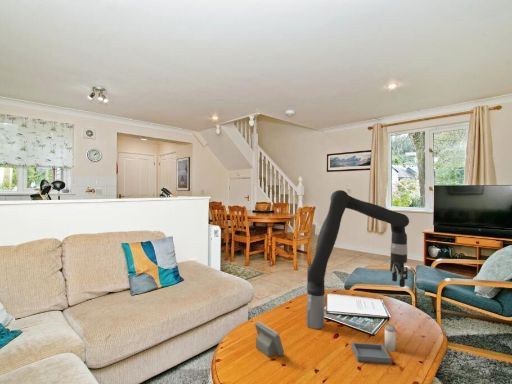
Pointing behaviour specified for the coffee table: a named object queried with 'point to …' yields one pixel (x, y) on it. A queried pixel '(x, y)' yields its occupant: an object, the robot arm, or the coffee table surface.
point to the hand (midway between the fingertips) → (398, 283)
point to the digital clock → (268, 340)
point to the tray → (370, 353)
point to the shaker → (390, 337)
